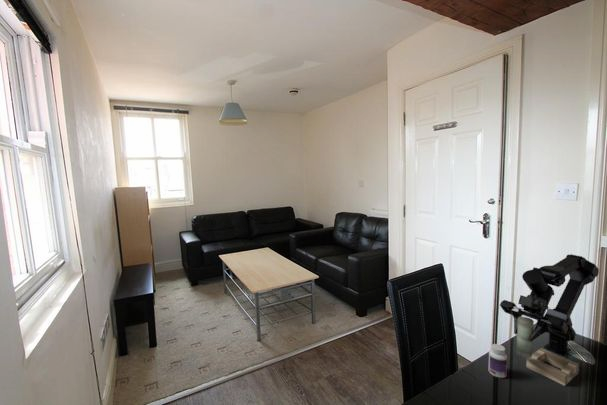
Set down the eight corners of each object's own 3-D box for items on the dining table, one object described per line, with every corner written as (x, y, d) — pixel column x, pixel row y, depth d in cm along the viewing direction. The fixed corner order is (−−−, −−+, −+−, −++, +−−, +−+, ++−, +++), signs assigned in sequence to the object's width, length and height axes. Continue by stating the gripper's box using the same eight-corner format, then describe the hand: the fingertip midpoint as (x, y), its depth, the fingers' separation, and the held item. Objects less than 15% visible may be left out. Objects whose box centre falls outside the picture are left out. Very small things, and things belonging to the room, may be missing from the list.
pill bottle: (509, 379, 101) (510, 352, 100) (492, 377, 102) (493, 351, 101) (502, 368, 106) (503, 343, 105) (485, 367, 108) (486, 341, 106)
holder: (540, 356, 112) (540, 348, 112) (578, 373, 103) (579, 363, 102) (526, 367, 107) (526, 358, 106) (564, 385, 97) (565, 376, 97)
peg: (519, 348, 107) (521, 315, 105) (534, 354, 103) (536, 320, 102) (513, 352, 104) (515, 318, 103) (528, 359, 101) (529, 324, 99)
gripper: (503, 279, 111) (486, 315, 107) (566, 296, 95) (549, 339, 91) (513, 294, 116) (497, 329, 112) (574, 313, 100) (558, 354, 96)
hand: (522, 337), depth 102 cm, fingers closed on peg, 4 cm apart
